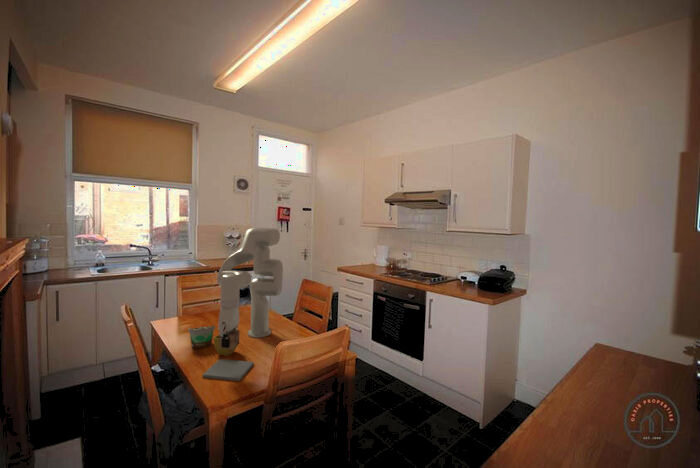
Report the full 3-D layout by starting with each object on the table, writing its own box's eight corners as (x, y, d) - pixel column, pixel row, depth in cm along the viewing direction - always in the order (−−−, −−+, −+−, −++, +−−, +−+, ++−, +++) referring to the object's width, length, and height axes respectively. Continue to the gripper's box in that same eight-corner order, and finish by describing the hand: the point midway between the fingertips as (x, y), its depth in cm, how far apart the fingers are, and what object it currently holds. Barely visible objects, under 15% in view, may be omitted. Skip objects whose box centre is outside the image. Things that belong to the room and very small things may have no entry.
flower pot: (229, 358, 148) (229, 340, 147) (212, 356, 149) (213, 337, 149) (239, 350, 156) (239, 333, 155) (223, 348, 158) (224, 330, 157)
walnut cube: (226, 342, 139) (226, 329, 139) (239, 343, 138) (239, 330, 138) (219, 348, 133) (219, 334, 133) (232, 349, 132) (232, 335, 132)
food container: (188, 351, 153) (188, 331, 152) (188, 346, 158) (188, 327, 157) (215, 347, 158) (216, 328, 158) (214, 342, 164) (215, 324, 163)
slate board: (220, 361, 145) (220, 358, 145) (253, 364, 143) (253, 361, 143) (202, 377, 131) (202, 374, 131) (239, 381, 129) (239, 378, 129)
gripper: (231, 297, 143) (230, 335, 145) (210, 308, 126) (210, 352, 128) (247, 298, 143) (246, 337, 144) (228, 309, 126) (227, 353, 127)
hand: (229, 343), depth 136 cm, fingers closed on walnut cube, 6 cm apart
